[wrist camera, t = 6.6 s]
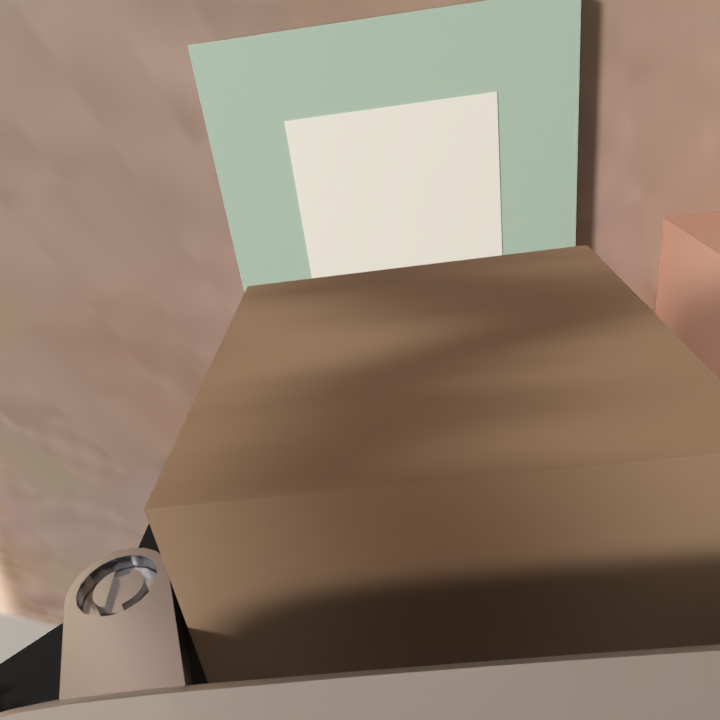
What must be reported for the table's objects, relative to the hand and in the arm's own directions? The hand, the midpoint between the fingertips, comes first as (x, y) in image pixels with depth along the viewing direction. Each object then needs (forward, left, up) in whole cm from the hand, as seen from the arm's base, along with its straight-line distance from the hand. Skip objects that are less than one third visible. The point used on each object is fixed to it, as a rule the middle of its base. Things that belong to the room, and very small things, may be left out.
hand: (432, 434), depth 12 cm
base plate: (0, 0, -17) cm, 17 cm away
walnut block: (0, 0, -1) cm, 1 cm away
